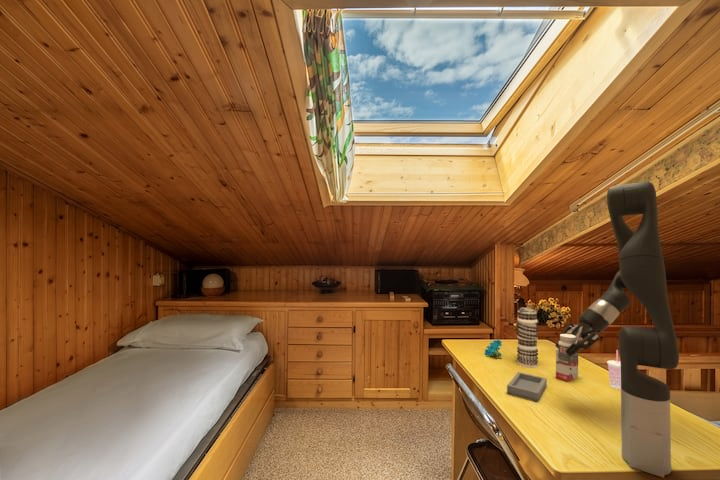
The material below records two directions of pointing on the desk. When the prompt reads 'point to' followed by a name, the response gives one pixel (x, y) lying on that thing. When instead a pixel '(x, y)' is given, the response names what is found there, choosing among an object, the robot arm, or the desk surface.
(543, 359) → the desk surface
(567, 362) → the pill bottle
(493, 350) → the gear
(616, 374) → the beverage cup
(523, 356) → the black white patterned cylinder
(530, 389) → the tray
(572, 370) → the ink box
